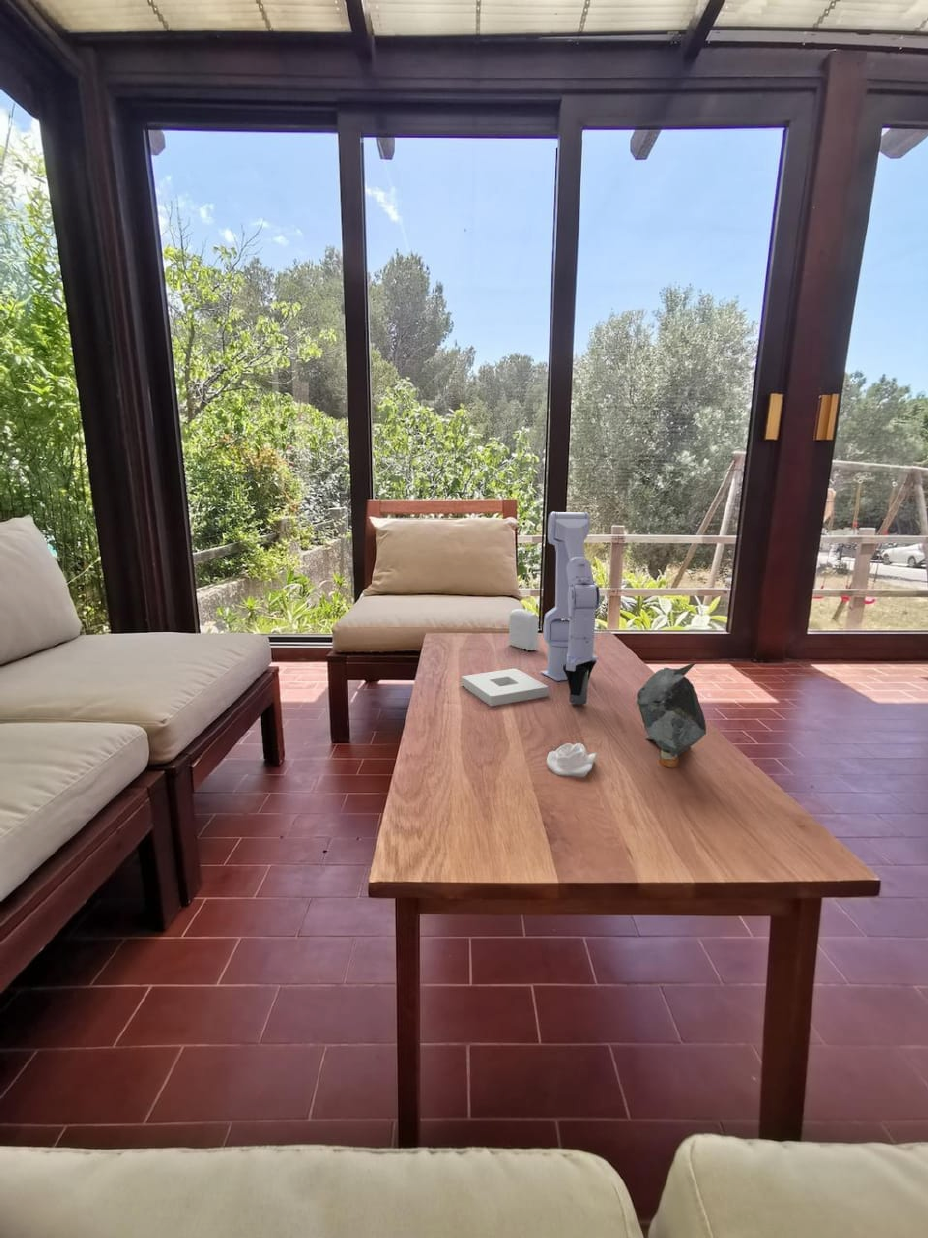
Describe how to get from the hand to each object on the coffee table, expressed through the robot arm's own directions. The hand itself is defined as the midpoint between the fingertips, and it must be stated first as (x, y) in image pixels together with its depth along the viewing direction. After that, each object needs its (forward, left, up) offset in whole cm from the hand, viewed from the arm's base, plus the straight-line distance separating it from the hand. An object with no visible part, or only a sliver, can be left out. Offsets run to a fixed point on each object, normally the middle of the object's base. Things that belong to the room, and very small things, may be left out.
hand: (578, 691), depth 140 cm
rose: (+19, +25, -4) cm, 32 cm away
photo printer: (-14, -48, -4) cm, 50 cm away
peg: (0, 0, -2) cm, 2 cm away
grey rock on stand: (+1, +30, -4) cm, 30 cm away
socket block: (+11, -16, -3) cm, 20 cm away
